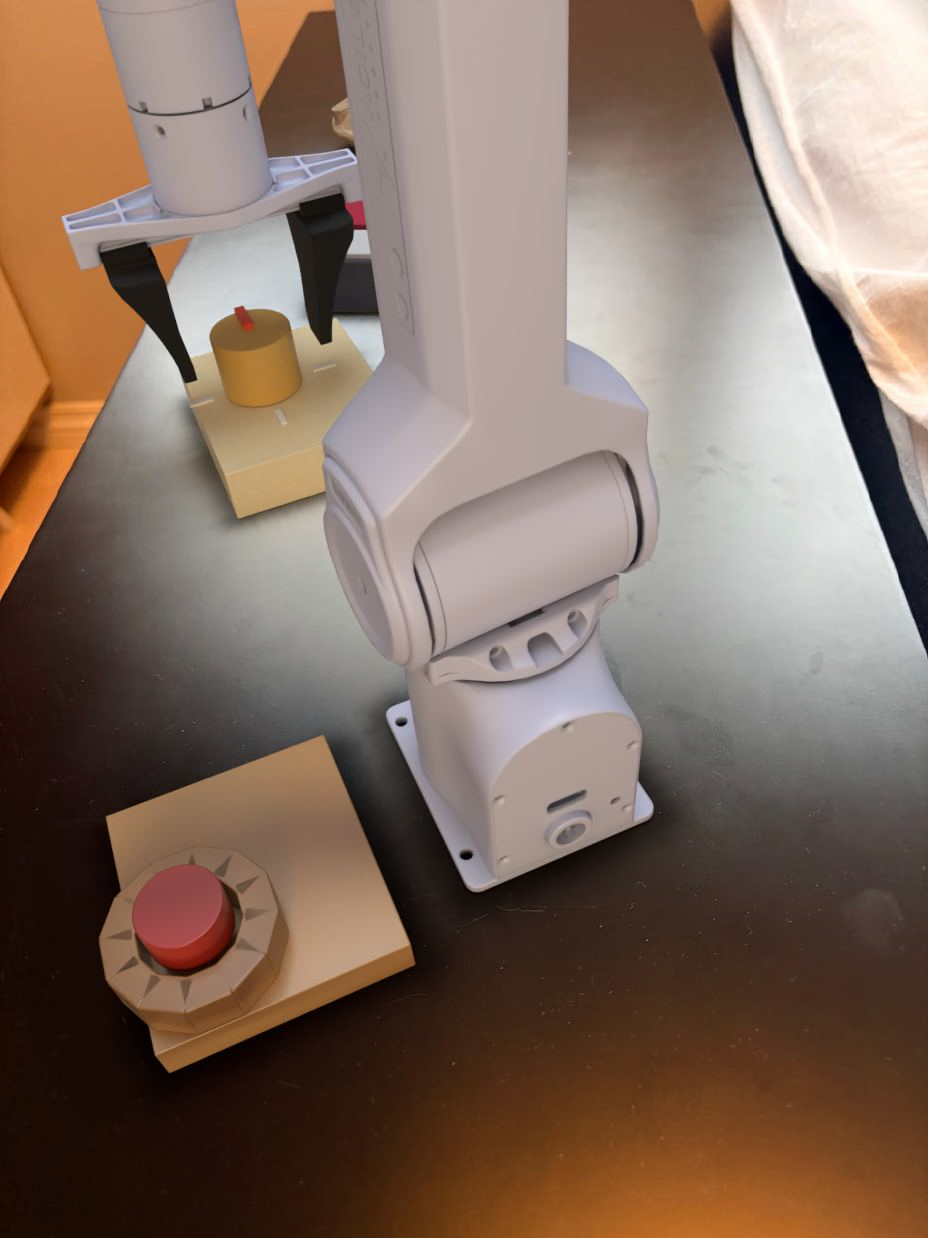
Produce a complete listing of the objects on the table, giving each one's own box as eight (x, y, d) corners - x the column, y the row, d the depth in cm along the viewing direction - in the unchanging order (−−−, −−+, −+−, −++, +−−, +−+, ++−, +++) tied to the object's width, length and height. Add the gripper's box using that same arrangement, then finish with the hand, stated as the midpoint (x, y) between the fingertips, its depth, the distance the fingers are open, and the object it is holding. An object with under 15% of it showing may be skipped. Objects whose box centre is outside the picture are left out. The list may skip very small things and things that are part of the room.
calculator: (497, 162, 73) (468, 250, 62) (499, 220, 76) (472, 314, 65) (352, 163, 75) (300, 249, 64) (360, 220, 78) (311, 312, 67)
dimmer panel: (411, 464, 55) (405, 417, 53) (232, 521, 53) (218, 474, 51) (343, 359, 63) (335, 314, 61) (185, 405, 61) (170, 360, 59)
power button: (245, 949, 33) (233, 925, 32) (157, 987, 32) (140, 964, 31) (224, 876, 35) (211, 850, 34) (139, 909, 34) (124, 885, 33)
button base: (416, 965, 36) (405, 920, 33) (150, 1082, 33) (116, 1044, 31) (330, 757, 42) (315, 707, 40) (103, 844, 40) (72, 797, 37)
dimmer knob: (311, 393, 55) (298, 332, 53) (235, 415, 54) (218, 354, 52) (289, 355, 58) (276, 295, 55) (216, 375, 57) (199, 316, 54)
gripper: (315, 35, 49) (355, 288, 59) (17, 97, 46) (112, 354, 56) (362, 78, 45) (397, 344, 55) (35, 151, 41) (135, 420, 51)
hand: (255, 353), depth 55 cm, fingers open, 7 cm apart
